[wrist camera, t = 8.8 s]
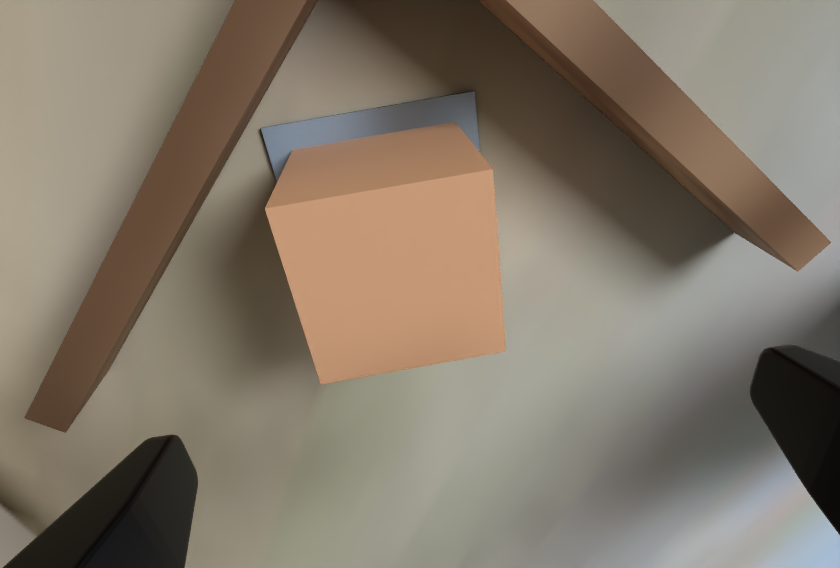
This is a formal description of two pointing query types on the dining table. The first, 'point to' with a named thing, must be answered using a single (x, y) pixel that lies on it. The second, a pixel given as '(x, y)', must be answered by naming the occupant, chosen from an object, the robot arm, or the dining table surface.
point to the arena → (261, 59)
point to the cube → (391, 251)
